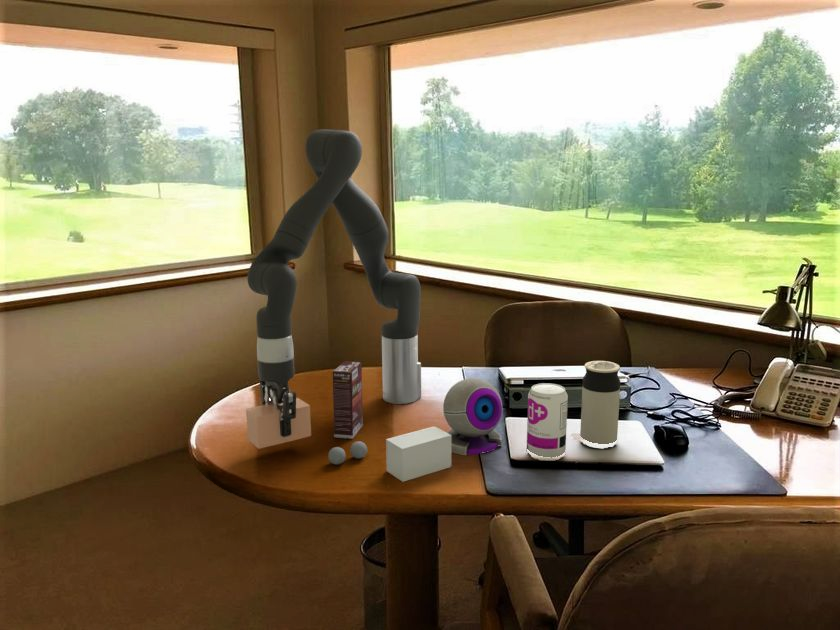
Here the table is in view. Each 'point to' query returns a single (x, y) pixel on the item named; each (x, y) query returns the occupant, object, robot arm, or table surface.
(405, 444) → the white rectangular eraser
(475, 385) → the webcam
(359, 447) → the slate ball
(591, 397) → the travel mug
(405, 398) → the robot arm
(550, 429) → the supplement can
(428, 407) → the table surface
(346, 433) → the supplement box
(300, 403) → the peach rectangular block
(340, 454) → the slate ball
